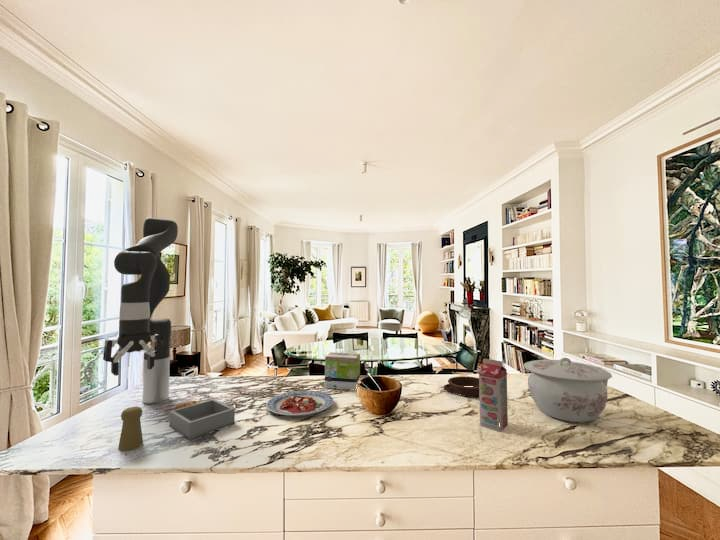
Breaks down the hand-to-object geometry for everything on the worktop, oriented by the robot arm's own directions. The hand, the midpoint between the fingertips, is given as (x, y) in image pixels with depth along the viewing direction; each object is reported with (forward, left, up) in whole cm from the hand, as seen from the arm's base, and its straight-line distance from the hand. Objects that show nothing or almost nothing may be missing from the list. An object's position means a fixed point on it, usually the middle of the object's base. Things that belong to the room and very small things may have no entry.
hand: (133, 372), depth 97 cm
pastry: (-14, +21, -22) cm, 33 cm away
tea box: (+11, +81, -22) cm, 85 cm away
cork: (0, 0, -22) cm, 22 cm away
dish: (+60, +110, -22) cm, 127 cm away
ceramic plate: (+15, +52, -22) cm, 58 cm away
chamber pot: (+97, +108, -22) cm, 147 cm away
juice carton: (+79, +82, -22) cm, 116 cm away
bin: (+2, +20, -22) cm, 29 cm away
